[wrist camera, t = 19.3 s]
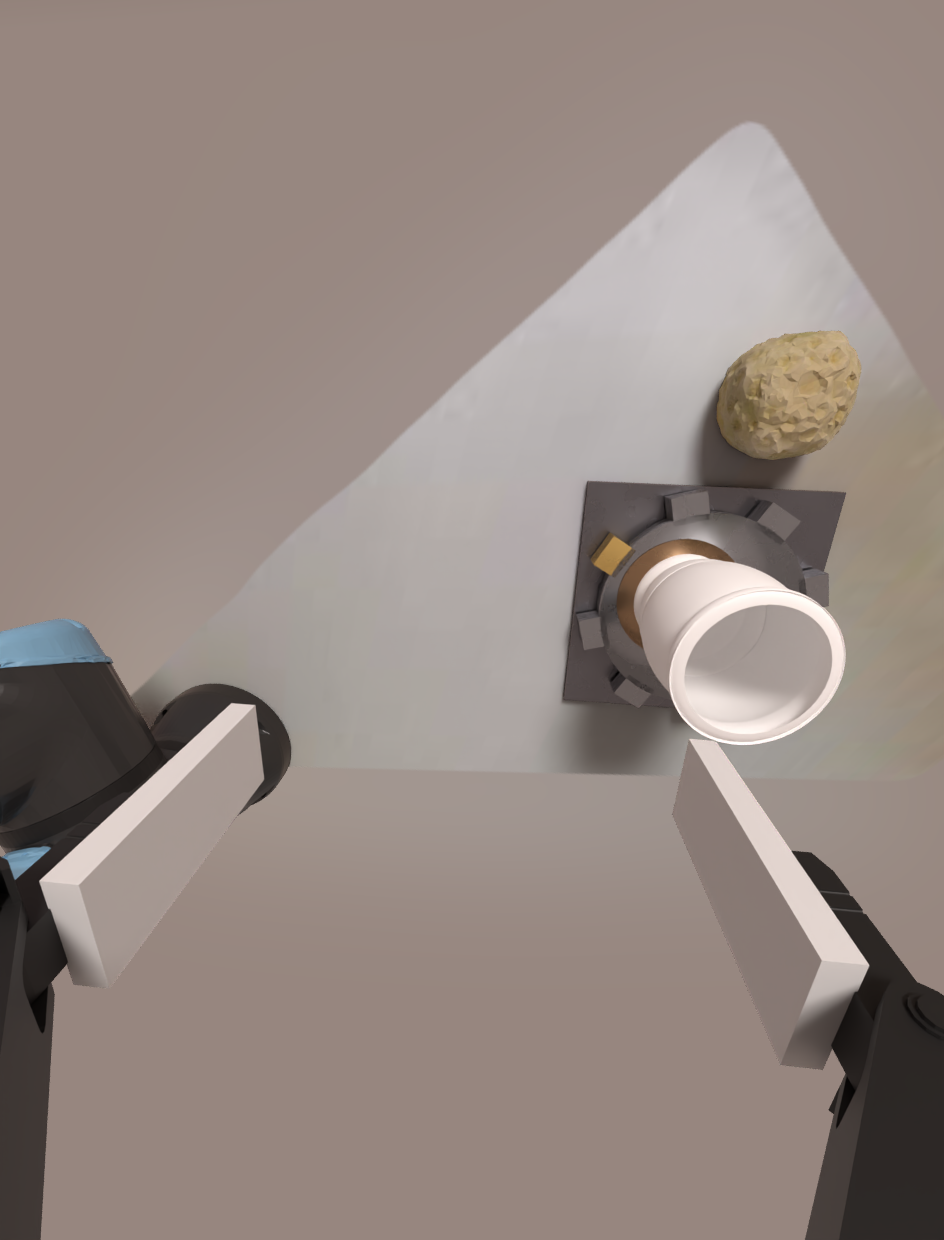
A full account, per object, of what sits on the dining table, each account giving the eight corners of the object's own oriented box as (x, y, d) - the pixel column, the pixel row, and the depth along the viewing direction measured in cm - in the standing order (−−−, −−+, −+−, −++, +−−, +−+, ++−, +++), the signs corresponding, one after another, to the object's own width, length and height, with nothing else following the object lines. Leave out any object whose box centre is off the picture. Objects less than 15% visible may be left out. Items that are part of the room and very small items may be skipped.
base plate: (587, 480, 45) (589, 481, 44) (840, 491, 44) (847, 492, 43) (563, 696, 52) (564, 700, 51) (778, 711, 51) (783, 716, 50)
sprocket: (533, 636, 49) (537, 671, 42) (676, 440, 42) (712, 439, 35) (706, 743, 52) (738, 794, 44) (868, 574, 45) (940, 600, 37)
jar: (714, 664, 46) (801, 761, 32) (606, 640, 46) (646, 726, 32) (760, 555, 43) (882, 611, 29) (643, 529, 43) (706, 571, 29)
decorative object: (791, 346, 43) (800, 268, 35) (878, 424, 40) (912, 359, 31) (696, 423, 47) (683, 370, 38) (769, 501, 43) (772, 462, 35)
